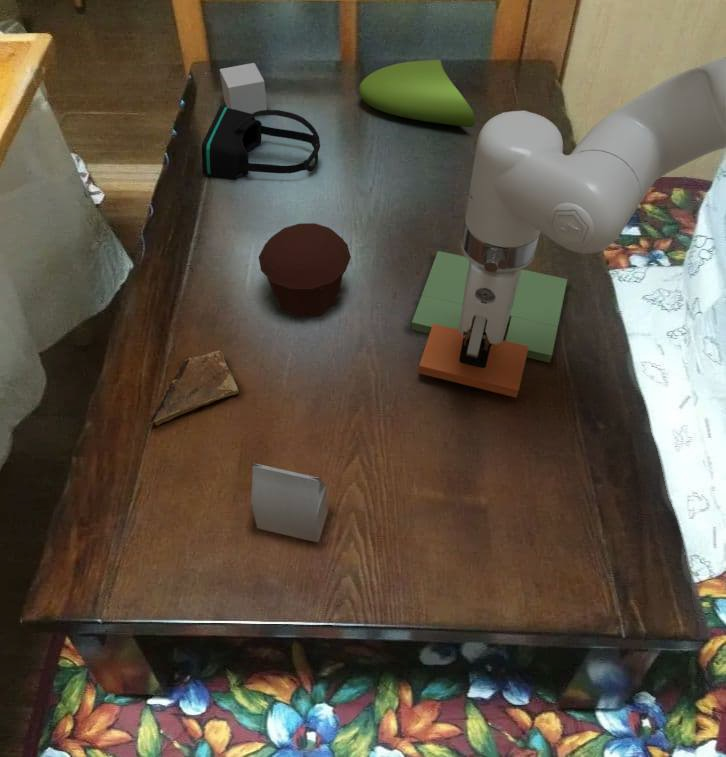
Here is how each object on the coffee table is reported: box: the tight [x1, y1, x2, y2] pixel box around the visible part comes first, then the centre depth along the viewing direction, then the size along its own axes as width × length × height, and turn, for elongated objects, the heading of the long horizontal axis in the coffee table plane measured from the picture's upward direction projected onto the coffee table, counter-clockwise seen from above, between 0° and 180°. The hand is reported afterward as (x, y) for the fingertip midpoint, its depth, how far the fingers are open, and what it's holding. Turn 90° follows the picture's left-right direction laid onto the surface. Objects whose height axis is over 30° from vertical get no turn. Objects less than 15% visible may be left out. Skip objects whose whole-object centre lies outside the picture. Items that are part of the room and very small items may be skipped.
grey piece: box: [250, 463, 329, 543], centre depth 74 cm, size 4×7×10 cm, turn 76°
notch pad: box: [410, 250, 568, 364], centre depth 97 cm, size 18×14×2 cm
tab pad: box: [417, 324, 529, 398], centre depth 88 cm, size 12×11×8 cm
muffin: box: [258, 222, 352, 319], centre depth 95 cm, size 12×11×10 cm
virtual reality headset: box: [201, 105, 321, 179], centre depth 113 cm, size 11×17×10 cm, turn 81°
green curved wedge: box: [358, 59, 476, 128], centre depth 122 cm, size 8×12×20 cm
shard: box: [149, 350, 240, 426], centre depth 88 cm, size 11×8×2 cm
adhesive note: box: [219, 62, 268, 114], centre depth 123 cm, size 6×6×6 cm
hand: (475, 352), depth 88 cm, fingers closed on tab pad, 2 cm apart
